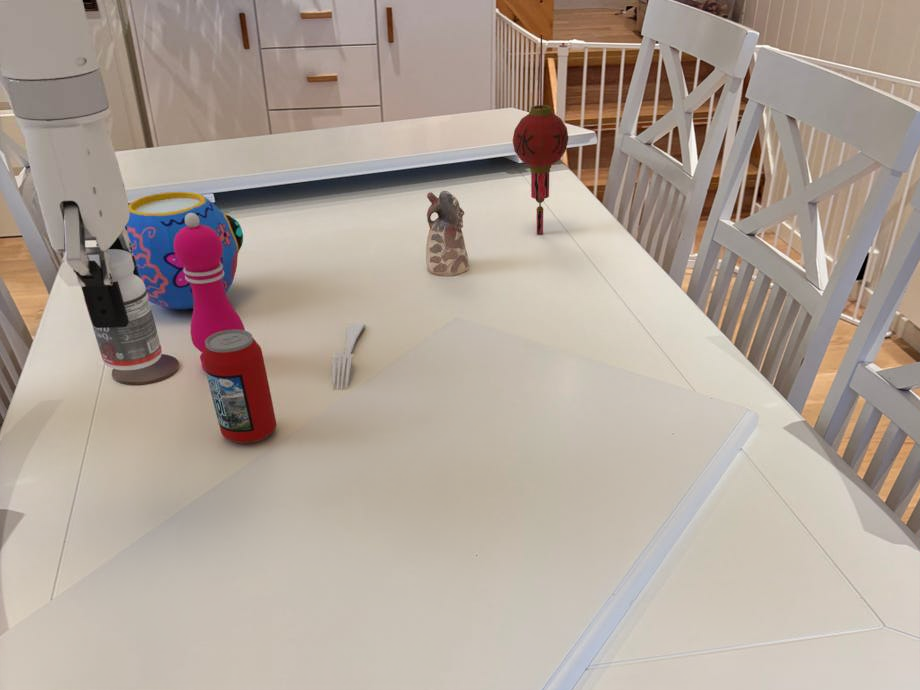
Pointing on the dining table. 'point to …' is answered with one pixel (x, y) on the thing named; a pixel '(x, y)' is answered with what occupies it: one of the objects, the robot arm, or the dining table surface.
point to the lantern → (540, 147)
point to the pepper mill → (205, 281)
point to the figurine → (445, 237)
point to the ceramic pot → (154, 243)
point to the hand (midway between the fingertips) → (119, 310)
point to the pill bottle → (140, 335)
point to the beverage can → (239, 386)
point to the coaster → (148, 372)
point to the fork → (346, 354)
